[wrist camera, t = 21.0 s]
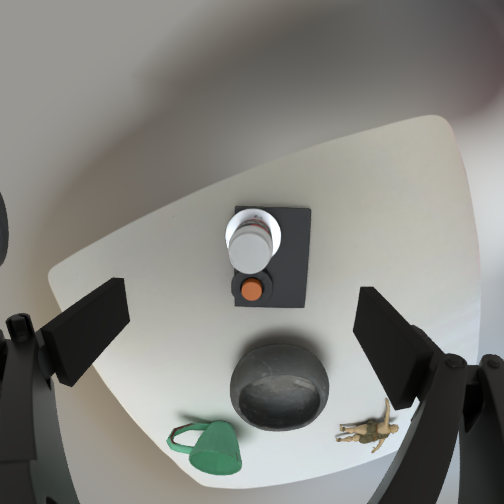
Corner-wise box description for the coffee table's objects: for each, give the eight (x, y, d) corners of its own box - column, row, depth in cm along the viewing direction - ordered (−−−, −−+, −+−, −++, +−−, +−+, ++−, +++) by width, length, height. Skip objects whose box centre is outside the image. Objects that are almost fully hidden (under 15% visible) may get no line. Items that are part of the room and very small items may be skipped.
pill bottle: (272, 218, 34) (274, 228, 26) (272, 255, 35) (274, 277, 27) (233, 219, 34) (224, 229, 26) (234, 256, 35) (226, 277, 27)
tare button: (261, 296, 37) (261, 301, 36) (242, 295, 37) (241, 300, 36) (262, 278, 36) (262, 282, 35) (242, 277, 37) (241, 281, 35)
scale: (302, 302, 40) (305, 312, 37) (234, 300, 41) (231, 311, 37) (309, 208, 37) (313, 210, 34) (234, 206, 37) (231, 207, 34)
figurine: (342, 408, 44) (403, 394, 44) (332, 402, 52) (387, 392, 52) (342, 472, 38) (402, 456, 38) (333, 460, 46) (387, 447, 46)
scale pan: (215, 227, 35) (214, 228, 34) (261, 197, 34) (261, 197, 33) (245, 272, 36) (244, 273, 35) (291, 244, 35) (291, 245, 34)
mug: (252, 421, 47) (249, 459, 37) (236, 444, 49) (232, 479, 40) (181, 398, 46) (167, 435, 37) (172, 424, 49) (160, 458, 39)
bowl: (240, 399, 46) (235, 439, 36) (227, 333, 42) (218, 371, 32) (320, 392, 45) (329, 431, 35) (321, 324, 41) (335, 361, 31)
